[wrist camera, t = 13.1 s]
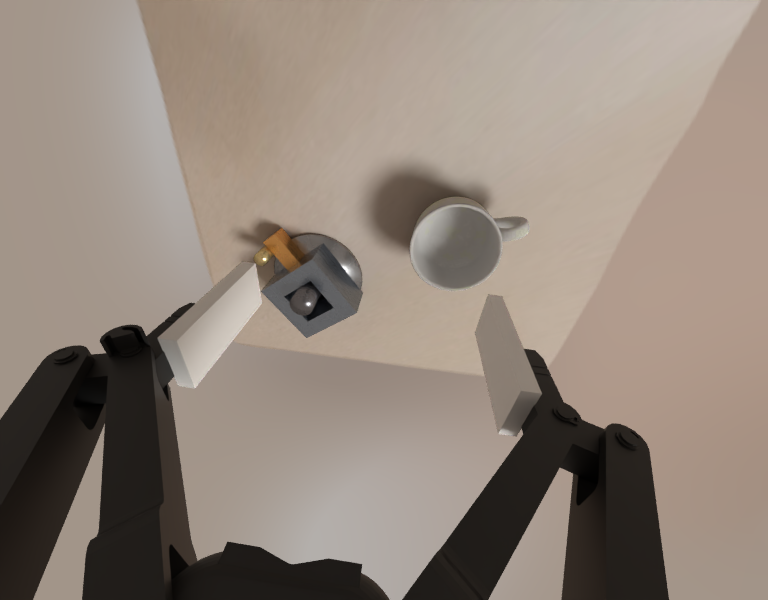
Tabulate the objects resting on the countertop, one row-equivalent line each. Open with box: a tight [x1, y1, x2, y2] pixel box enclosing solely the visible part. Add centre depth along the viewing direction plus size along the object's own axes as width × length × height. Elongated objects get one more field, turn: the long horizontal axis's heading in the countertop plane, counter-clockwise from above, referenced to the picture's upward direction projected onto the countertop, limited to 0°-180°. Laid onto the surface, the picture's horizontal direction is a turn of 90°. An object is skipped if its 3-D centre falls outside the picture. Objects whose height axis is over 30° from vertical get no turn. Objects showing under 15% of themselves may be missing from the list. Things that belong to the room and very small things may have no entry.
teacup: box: [409, 197, 530, 291], centre depth 38 cm, size 14×11×8 cm
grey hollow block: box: [261, 228, 363, 338], centre depth 45 cm, size 15×10×6 cm, turn 34°
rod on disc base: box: [274, 234, 362, 316], centre depth 45 cm, size 14×14×9 cm
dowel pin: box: [254, 245, 274, 266], centre depth 44 cm, size 2×2×5 cm
